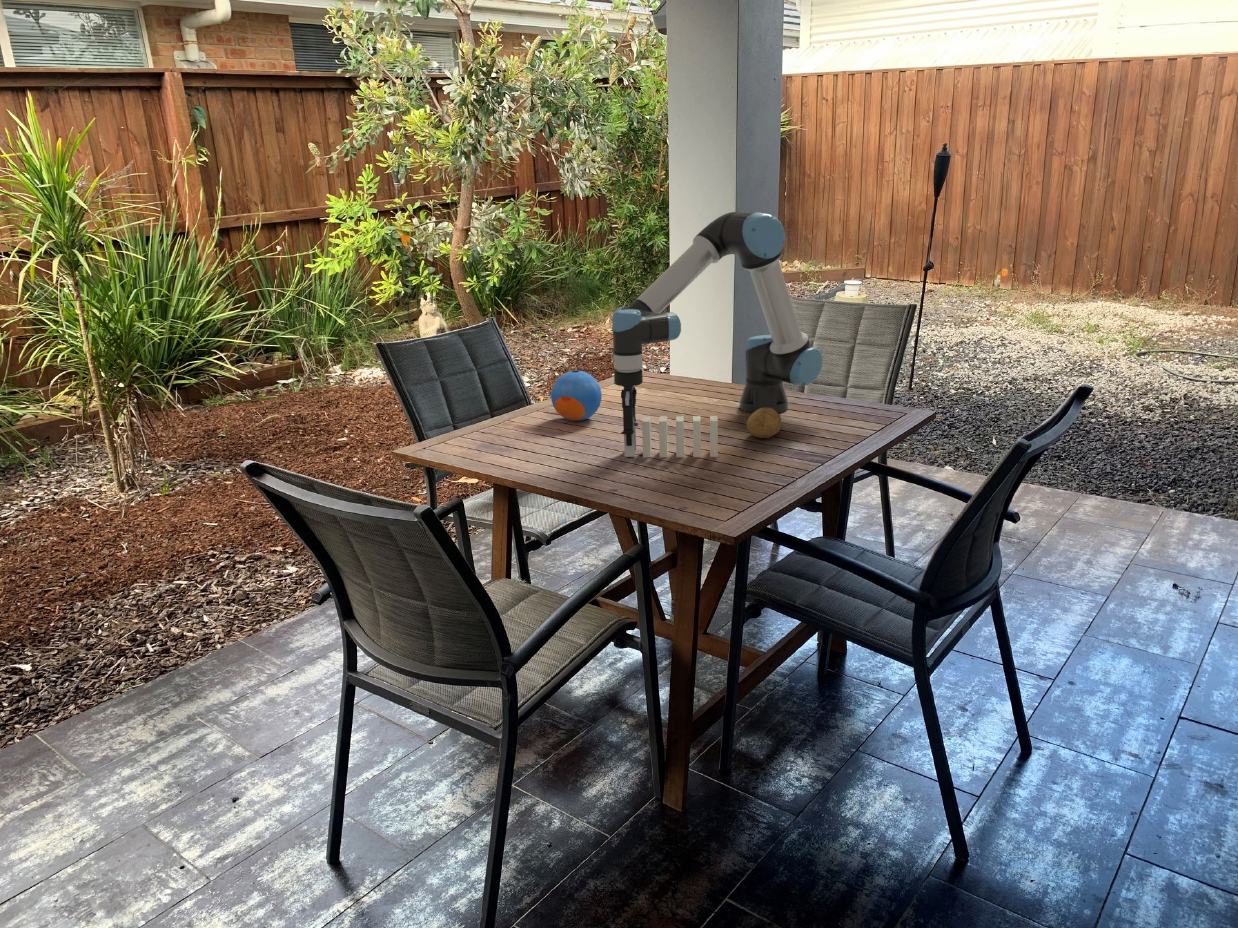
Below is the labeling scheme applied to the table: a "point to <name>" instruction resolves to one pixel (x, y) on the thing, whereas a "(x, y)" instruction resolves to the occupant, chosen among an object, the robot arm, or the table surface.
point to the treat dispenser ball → (576, 395)
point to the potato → (764, 423)
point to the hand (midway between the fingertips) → (630, 452)
